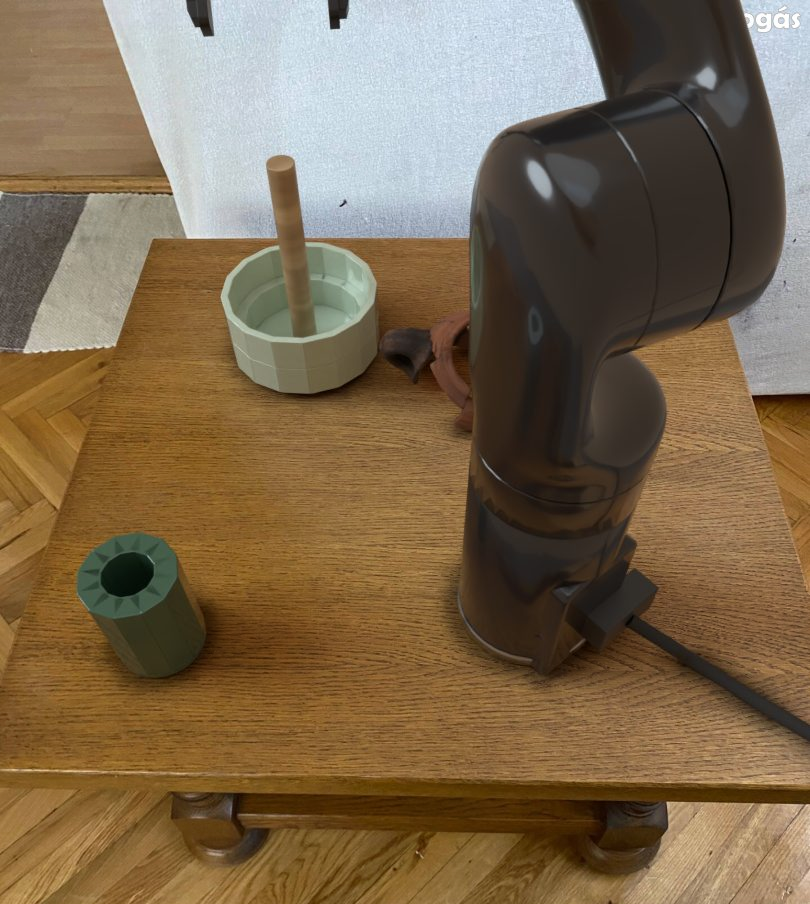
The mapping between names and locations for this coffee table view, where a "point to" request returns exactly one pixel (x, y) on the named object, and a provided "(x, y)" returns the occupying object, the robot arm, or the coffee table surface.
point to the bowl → (270, 330)
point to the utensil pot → (142, 604)
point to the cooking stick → (292, 243)
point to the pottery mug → (419, 345)
